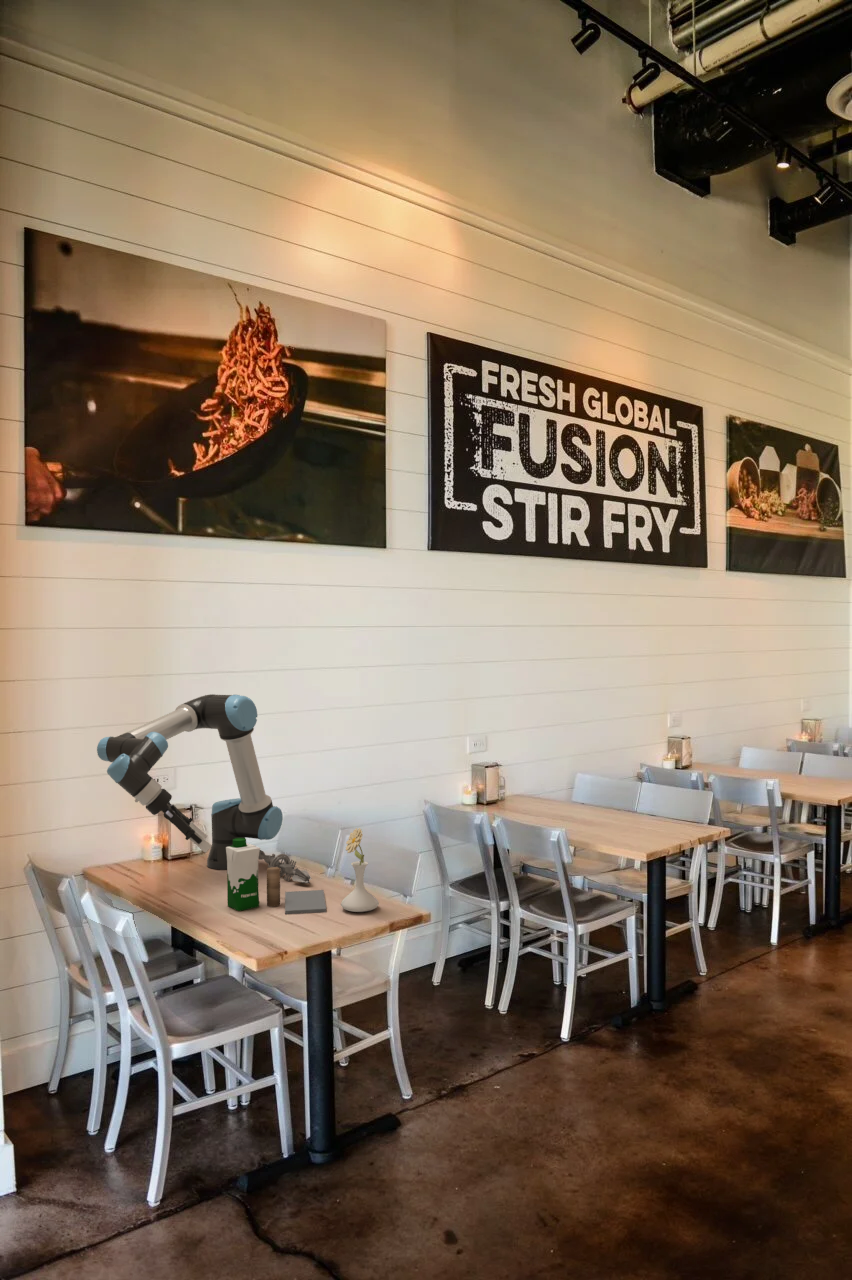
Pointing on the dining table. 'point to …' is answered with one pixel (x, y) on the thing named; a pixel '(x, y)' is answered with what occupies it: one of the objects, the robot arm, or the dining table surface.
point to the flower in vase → (358, 880)
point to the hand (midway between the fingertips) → (206, 844)
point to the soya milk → (242, 875)
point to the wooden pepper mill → (273, 886)
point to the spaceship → (286, 867)
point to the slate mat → (305, 902)
